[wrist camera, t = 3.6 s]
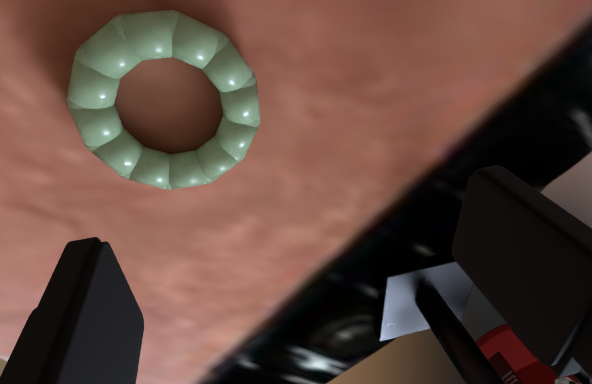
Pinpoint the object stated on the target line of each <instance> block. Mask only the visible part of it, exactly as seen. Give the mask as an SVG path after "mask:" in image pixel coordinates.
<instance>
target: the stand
mask: <svg viewBox="0 0 592 384" xmlns="http://www.w3.org/2000/svg"><path fill="white" fill-rule="evenodd" d="M472 286H473V282H472V280H471V279H470V278H469V277H468V276H467V274H466V273H465V272H464V271H463V270H462V268H461V267H460V266H459V265H458V264H457V262H456V261H455V260H454V258H453V255H452V252H448V253H444V254H439V255H435V256H431V257H426V258H422V259H417V260H413V261H409V262H404V263H400V264H395V265H391V266H386V267H382V268H381V277H380V286H379V296H378V305H377V315H376V324H375V333H376V335H377V337H378V339H379V341H383V340H387V339H390V338H394V337H398V336H402V335H406V334H409V333H413V332H417V331H421V330H425V329H428V328H431V330H432V331H433V333H434V335H435V336H436V338H437V339H438V341H439V342H440V344H441V345H442V347H443V348H444V350H445V352H446V353H447V355H448V356H449V358H450V359H451V361H452V363H453V364H454V366H455V367H456V369H457V370H458V372H459V373H460V375H461V377H462V378H463V380H464V381H465V383H466V384H505V382H504V381H503V380H502V378H501V377H500V376H499V374H498V373H497V371H496V370H495V369H494V367H493V366H492V365H491V363H490V362H489V361H488V359H487V358H486V356H485V355H484V354H483V352H482V351H481V350H480V348H479V347H478V346H477V344H476V343H475V341H474V340H473V339H472V337H471V336H470V335H469V333H468V332H467V331H466V329H465V328H464V326H463V325H462V324H461V322H460V321H459V320H462V318H463V315H464V312H465V309H466V305H467V302H468V299H469V296H470V293H471V290H472Z"/></svg>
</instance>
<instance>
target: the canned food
mask: <svg viewBox="0 0 592 384" xmlns="http://www.w3.org/2000/svg"><path fill="white" fill-rule="evenodd" d="M476 344H477V346H478V347H479V348H480V350H481V351H482V352H483V354H484V355H485V356H486V358H487V359H488V361H489V362H490V363H491V365H492V366H493V367H494V369H495V370H496V371H497V373H498V374H499V376H500V377H501V378H502V380H503V381H504V382H505V384H582V383H581V382H580V381H579V380H578V379H577V378H576V377H575V376H574V374H571V375H568V376H564V377H561V378H558V377H557V376H556V375H555V373H554V372H553V371H552V370H551V369H550V367H549V366H546V365H544V364H542V363H541V362H540V361H539V360H538V359H537V358H536V357H535V356H534V355H533V353H532V352H531V351H530V350H529V349H528V347H527V346H526V345H525V344H524V343H523V341H522V340H521V339H520V338H519V337H518V335H517V334H516V333H515V332H514V331H513V329H512V328H511V327H510V326H509V325H508V324H504V325H501V326H499V327H496V328H494V329H492V330H491V331H489V332H487V333H486V334H485V335H483V336H482V337H481V338H480V339H479V340H478V341H477V342H476Z"/></svg>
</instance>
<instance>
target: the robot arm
mask: <svg viewBox="0 0 592 384" xmlns="http://www.w3.org/2000/svg"><path fill="white" fill-rule="evenodd" d="M452 255H453V258H454V260H455V261H456V262H457V264H458V265H459V266H460V267H461V268H462V270H463V271H464V272H465V273H466V274H467V276H468V277H469V278H470V279H471V280H472V282H473V283H474V284H475V285H476V286H477V287H478V289H479V290H480V291H481V292H482V293H483V295H484V296H485V297H486V298H487V300H488V301H489V302H490V303H491V304H492V305H493V307H494V308H495V309H496V310H497V311H498V313H499V314H500V315H501V316H502V317H503V319H504V320H505V321H506V322H507V323H508V325H509V326H510V327H511V328H512V329H513V331H514V332H515V333H516V334H517V335H518V337H519V338H520V339H521V340H522V341H523V343H524V344H525V345H526V346H527V347H528V349H529V350H530V351H531V352H532V353H533V355H534V356H535V357H536V358H537V359H538V360H539V361H540V362H541V363H542V364H544V365H546V366H549V367H550V369H551V370H552V371H553V372H554V373H555V375H556V376H557V377H558V378H561V377H564V376H568V375H571V374H575V373H578V372H579V371H580V369H581V368H583V369H584V370H585V372H586V373H587V374H588V375H589V379H590V384H592V229H591V228H590V227H588V226H587V225H586V224H584V223H583V222H581V221H580V220H578V219H577V218H576V217H574V216H573V215H571V214H570V213H568V212H567V211H565V210H564V209H563V208H561V207H560V206H558V205H557V204H555V203H554V202H553V201H551V200H550V199H548V198H547V197H545V196H544V195H543V194H541V193H540V192H538V191H537V190H535V189H534V188H532V187H531V186H530V185H528V184H527V183H525V182H524V181H522V180H521V179H520V178H518V177H517V176H515V175H514V174H512V173H511V172H510V171H508V170H507V169H505V168H504V167H502V166H491V167H486V168H480V169H477V170H476V171H475V172H474V174H473V175H472V176H471V177H470V178H469V180H468V184H467V188H466V192H465V196H464V200H463V204H462V208H461V212H460V217H459V221H458V225H457V229H456V233H455V237H454V241H453V245H452ZM143 331H144V319H143V315H142V312H141V310H140V308H139V306H138V304H137V302H136V300H135V297H134V295H133V293H132V291H131V289H130V287H129V285H128V282H127V280H126V278H125V276H124V274H123V272H122V270H121V267H120V265H119V263H118V261H117V259H116V257H115V255H114V252H113V250H112V248H111V246H110V244H109V243H108V242H101V241H100V239H98V238H97V237H93V238H87V239H82V240H76V241H70V242H69V243H67V245H66V246H65V248H64V251H63V253H62V255H61V257H60V259H59V261H58V264H57V266H56V268H55V270H54V272H53V274H52V277H51V279H50V281H49V283H48V285H47V287H46V289H45V292H44V294H43V296H42V298H41V300H40V302H39V305H38V307H37V308H35V309H34V310H33V311H32V313H31V314H30V316H29V318H28V320H27V322H26V324H25V326H24V328H23V330H22V332H21V335H20V337H19V339H18V341H17V343H16V345H15V347H14V349H13V351H12V353H11V356H10V358H9V360H8V362H7V364H6V366H5V368H4V370H3V372H2V375H1V377H0V384H136V378H137V371H138V364H139V358H140V351H141V344H142V338H143Z"/></svg>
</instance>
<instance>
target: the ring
mask: <svg viewBox="0 0 592 384" xmlns="http://www.w3.org/2000/svg"><path fill="white" fill-rule="evenodd" d="M168 57H173V58H176V59H178V60H181V61H183V62H186V63H188V64H190V65H193V66H195V67H198V68H200V69H201V70H202V71H203V72H204V73H205V74H206V76H207V77H208V78H209V79H210V80H211V82H212V83H213V84H214V85H215V86H216V88H217V89H218V90H219V93H220V99H221V104H222V110H223V117H222V120H221V122H220V125H219V127H218V130H217V132H216V135H215V136H214V137H213V138H212V139H210V140H209V141H208V142H206V143H205V144H204V145H202V146H201V147H200V148H198V149H197V150H195V151H189V152H182V153H176V154H168V153H164V152H161V151H158V150H154V149H151V148H148V147H144V146H143V145H142V144H141V143H140V142H138V141H137V140H136V139H135V138H134V137H133V136H132V135H131V134H130V133H129V132H127V131H126V130H125V129H124V128H123V126H122V123H121V120H120V117H119V114H118V111H117V109H116V106H115V103H114V102H115V99H116V95H117V91H118V87H119V83H120V79H121V77H122V76H124V75H125V74H126V73H127V72H129V71H130V70H131V69H132V68H133V67H135V66H136V65H137V64H138V63H140V62H141V61H142V60H150V59H159V58H168ZM67 104H68V107H69V109H70V112H71V114H72V116H73V119H74V121H75V123H76V126H77V128H78V130H79V133H80V135H81V137H82V140H83V142H84V144H85V146H86V147H87V149H88V150H89V151H91V152H92V153H93V154H94V155H96V156H97V157H98V158H99V159H100V160H102V161H103V162H104V163H105V164H107V165H108V166H109V167H110V168H112V169H113V170H114V171H115V172H117V173H118V174H119V175H120V176H122V177H123V178H125V179H128V180H131V181H135V182H139V183H143V184H147V185H151V186H154V187H158V188H162V189H167V190H173V189H179V188H185V187H190V186H196V185H202V184H208V183H211V182H213V181H214V180H216V179H217V178H218V177H220V176H221V175H223V174H224V173H225V172H227V171H228V170H229V169H231V168H232V167H234V166H235V165H236V164H238V163H239V162H240V161H242V160H243V158H244V157H245V155H246V153H247V151H248V149H249V147H250V144H251V142H252V140H253V138H254V136H255V133H256V131H257V129H258V127H259V124H260V120H261V115H260V107H259V99H258V90H257V82H256V77H255V74H254V72H253V71H252V70H251V68H250V67H249V65H248V64H247V63H246V61H245V60H244V59H243V57H242V56H241V55H240V53H239V52H238V51H237V49H236V48H235V46H234V45H233V44H232V42H231V41H230V40H229V38H228V37H227V36H226V35H225V34H224V33H222V32H220V31H219V30H216V29H214V28H212V27H210V26H208V25H206V24H204V23H202V22H199V21H197V20H195V19H193V18H191V17H189V16H187V15H184V14H182V13H180V12H178V11H174V10H163V11H152V12H141V13H130V14H122V15H118V16H116V17H114V18H113V19H111V20H110V21H109V22H108V23H107V24H105V25H104V26H103V27H102V28H101V29H100V30H98V31H97V32H96V33H95V34H94V35H93V36H91V37H90V38H89V39H88V40H87V41H86V42H84V43H83V44H82V45H81V46H80V47H79V48H78V49H77V51H76V53H75V57H74V62H73V67H72V72H71V77H70V82H69V87H68V92H67Z"/></svg>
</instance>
